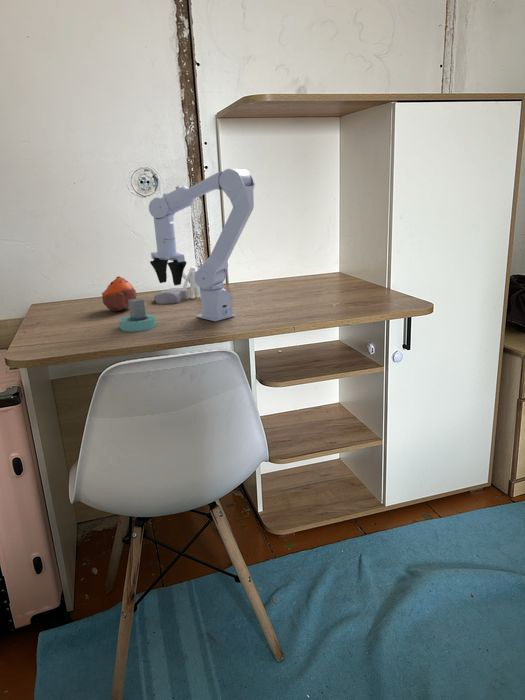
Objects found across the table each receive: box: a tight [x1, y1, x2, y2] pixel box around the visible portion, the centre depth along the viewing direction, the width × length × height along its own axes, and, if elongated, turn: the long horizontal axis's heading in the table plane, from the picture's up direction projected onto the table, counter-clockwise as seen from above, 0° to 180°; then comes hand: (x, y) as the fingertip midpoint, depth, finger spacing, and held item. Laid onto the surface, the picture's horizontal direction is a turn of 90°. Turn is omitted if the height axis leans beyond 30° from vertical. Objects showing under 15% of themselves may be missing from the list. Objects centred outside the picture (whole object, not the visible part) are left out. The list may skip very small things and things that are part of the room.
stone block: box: [153, 287, 189, 305], centre depth 191 cm, size 12×5×10 cm
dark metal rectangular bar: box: [128, 297, 146, 321], centre depth 156 cm, size 3×3×8 cm
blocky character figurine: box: [182, 262, 201, 299], centre depth 191 cm, size 9×4×12 cm, turn 103°
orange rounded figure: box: [101, 276, 138, 312], centre depth 178 cm, size 12×10×11 cm
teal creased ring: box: [119, 313, 157, 333], centre depth 157 cm, size 10×10×2 cm
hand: (170, 283), depth 167 cm, fingers open, 7 cm apart
